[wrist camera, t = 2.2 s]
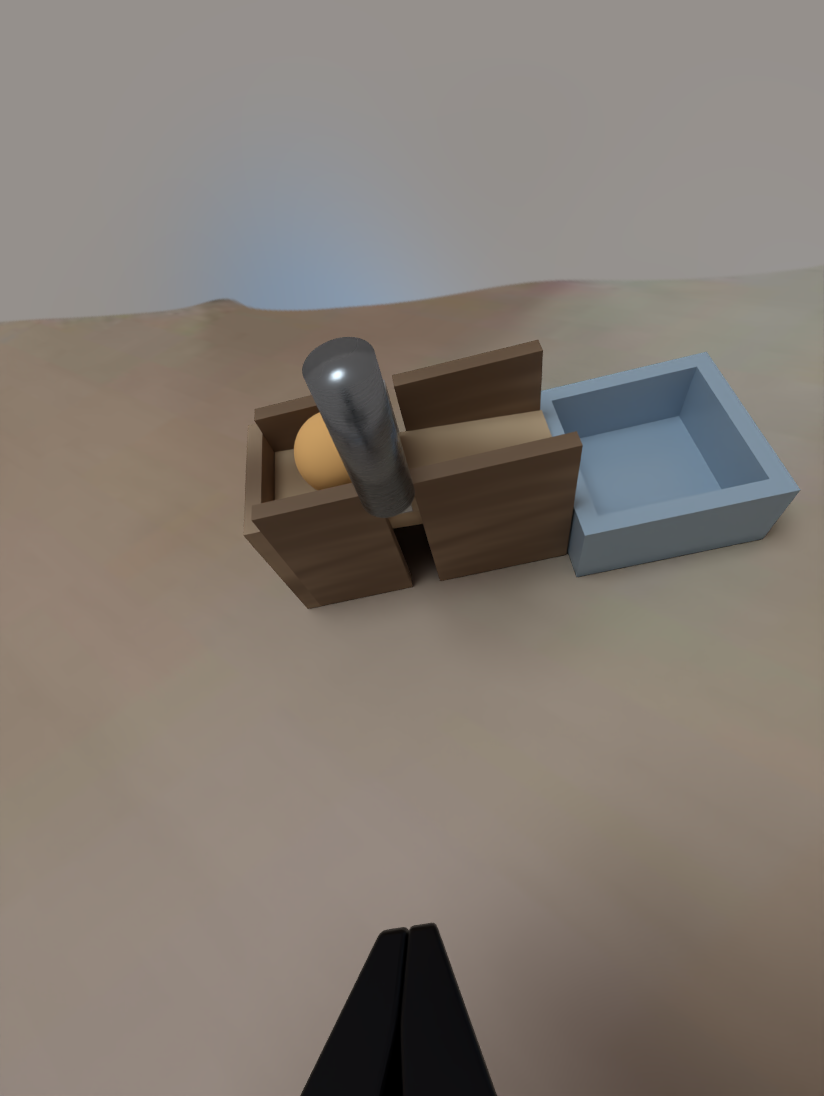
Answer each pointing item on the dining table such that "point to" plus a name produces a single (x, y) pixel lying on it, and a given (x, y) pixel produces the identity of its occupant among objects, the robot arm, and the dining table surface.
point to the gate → (361, 423)
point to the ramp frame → (422, 483)
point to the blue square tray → (665, 465)
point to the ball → (318, 456)
